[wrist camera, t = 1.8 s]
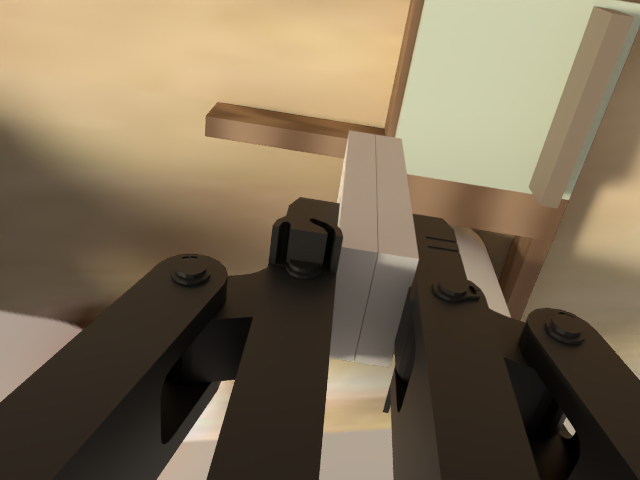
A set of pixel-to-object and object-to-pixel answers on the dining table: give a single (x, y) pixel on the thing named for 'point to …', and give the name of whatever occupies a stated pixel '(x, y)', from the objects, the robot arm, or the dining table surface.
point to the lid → (512, 90)
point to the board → (414, 176)
